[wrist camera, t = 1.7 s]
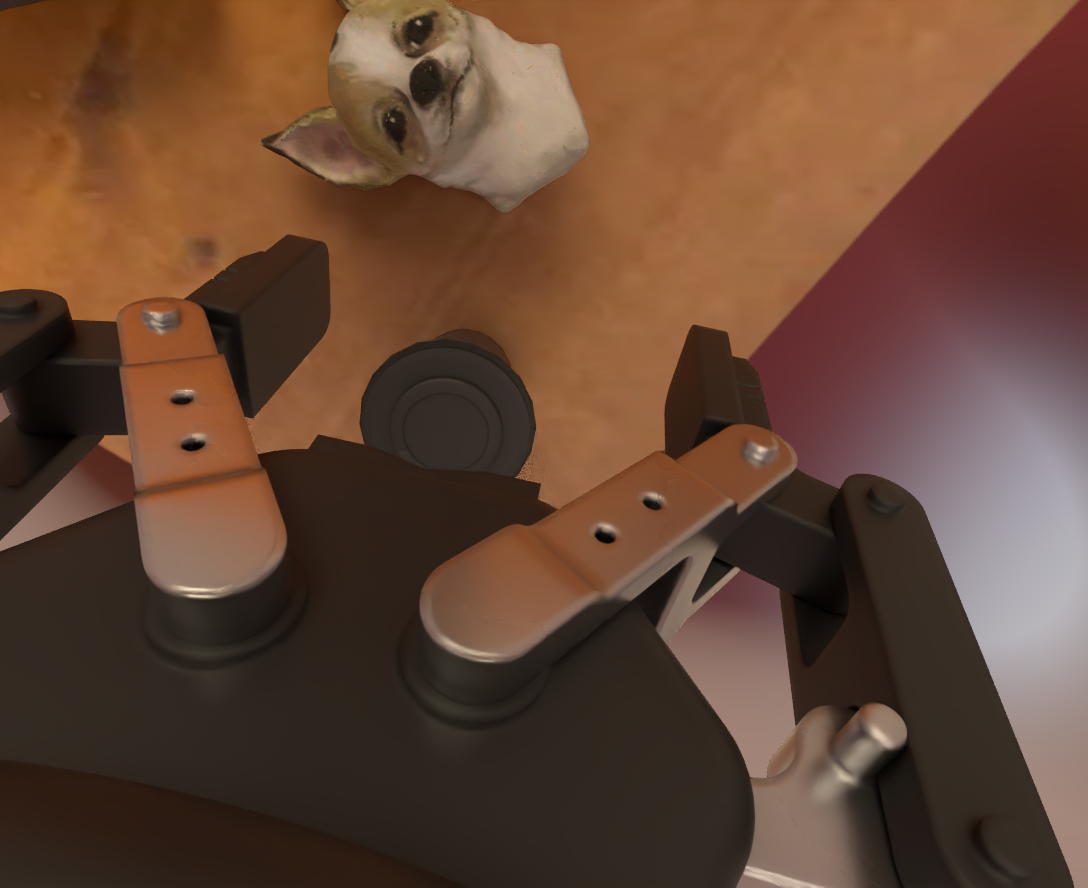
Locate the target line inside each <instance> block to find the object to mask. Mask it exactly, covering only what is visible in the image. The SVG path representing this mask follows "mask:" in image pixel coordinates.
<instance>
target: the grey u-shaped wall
mask: <svg viewBox="0 0 1088 888" xmlns="http://www.w3.org/2000/svg"><path fill="white" fill-rule="evenodd" d="M38 1H42V0H0V10H2V9H7V8H11V7H16V6H20V5H25V4H29V3H33V2H38Z"/></svg>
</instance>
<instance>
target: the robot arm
mask: <svg viewBox="0 0 1088 888" xmlns="http://www.w3.org/2000/svg"><path fill="white" fill-rule="evenodd" d="M329 320H330V279H329V254H328V249H327V246H326V244H325V243H324V242H321V241H317V240H312V239H308V238H303V237H299V236H294V235H290V234H289V235H286V236H285V237H283V238H282V239H281V240H280V241H278V242H277V243H276V244H274V245H273V246H272V247H271V248H269V249H268V250H267V251H265V252H263V251H260V252H257V253H254V254H251V255H248V256H244V257H241V258H239V259H238V260H236V261H235V262H234V263H232V264H231V265H229V266H228V267H227V268H226V270H225V271H221V272H220V273H219V274H217V275H216V276H215V277H214V279H211V280H209V281H208V282H207V283H205V284H204V285H203V286H201V287H200V288H198V289H197V290H196V291H194V292H193V293H192V294H190V295H189V296H188V297H186V298H185V299H179V298H167V297H163V298H150V299H145V300H141V301H137V302H134V303H132V304H129V305H127V306H125V307H124V308H123V309H121V310H120V311H119V313H118V314H117V318H116V321H117V322H109V321H85V320H72V318H71V314H70V311H69V308H68V305H67V302H66V300H65V299H64V298H63V297H62V296H60V295H58V294H55V293H53V292H49V291H44V290H34V289H19V290H9V291H3V292H0V393H1V392H2V394H3V397H4V400H5V402H6V404H7V407H8V409H9V412H10V414H11V415H9V416H8V417H7V418H6V419H4V420H3V421H2V422H1V423H0V540H1V539H2V538H3V537H4V536H5V535H6V534H7V533H8V532H9V531H10V530H11V529H12V528H13V527H14V526H15V525H16V524H17V523H18V522H19V521H20V520H21V519H22V518H23V517H24V516H26V515H27V513H29V512H30V510H31V509H33V507H35V506H36V504H38V503H39V502H40V500H42V499H43V498H44V497H45V496H46V495H47V494H48V492H50V491H51V490H52V489H53V488H54V487H55V486H56V485H57V484H58V483H59V482H60V481H61V480H62V479H63V478H64V477H65V476H66V475H67V474H68V473H69V472H70V471H71V470H72V469H73V468H74V467H75V466H76V465H77V464H78V463H79V462H80V461H81V460H82V459H83V458H84V457H85V456H86V455H87V454H88V453H89V452H90V451H91V450H92V449H93V448H94V447H95V446H96V445H97V444H98V443H99V442H100V441H101V440H102V439H103V437H104V435H128V437H129V444H130V451H131V458H132V466H133V473H134V480H135V488H136V492H135V493H134V501H131V502H129V503H126V504H123V505H121V506H118V507H116V508H113V509H110V510H108V511H105V512H102V513H100V514H97V515H95V516H92V517H89V518H87V519H84V520H81V521H79V522H76V523H74V524H71V525H68V526H66V527H63V528H60V529H58V530H55V531H53V532H50V533H47V534H45V535H42V536H39V537H37V538H34V539H32V540H29V541H26V542H24V543H21V544H19V545H16V546H13V547H11V548H8V549H6V550H3V551H0V888H1074V885H1073V881H1072V877H1071V875H1070V871H1069V869H1068V866H1067V864H1066V861H1065V859H1064V856H1063V854H1062V851H1061V849H1060V846H1059V844H1058V841H1057V839H1056V836H1055V834H1054V831H1053V829H1052V826H1051V824H1050V821H1049V819H1048V816H1047V814H1046V811H1045V809H1044V806H1043V804H1042V801H1041V799H1040V797H1039V794H1038V792H1037V789H1036V787H1035V784H1034V782H1033V779H1032V777H1031V774H1030V772H1029V769H1028V767H1027V764H1026V762H1025V759H1024V757H1023V754H1022V752H1021V750H1020V747H1019V744H1018V742H1017V739H1016V737H1015V734H1014V732H1013V729H1012V727H1011V724H1010V722H1009V719H1008V717H1007V715H1006V712H1005V710H1004V707H1003V704H1002V702H1001V700H1000V697H999V695H998V692H997V690H996V687H995V685H994V682H993V680H992V677H991V675H990V672H989V670H988V667H987V665H986V662H985V660H984V657H983V655H982V652H981V650H980V647H979V645H978V642H977V640H976V638H975V635H974V632H973V630H972V627H971V625H970V623H969V621H968V617H967V615H966V612H965V610H964V608H963V605H962V603H961V600H960V598H959V595H958V593H957V590H956V588H955V585H954V583H953V580H952V578H951V575H950V573H949V570H948V568H947V565H946V563H945V560H944V558H943V555H942V553H941V550H940V548H939V545H938V543H937V540H936V538H935V535H934V533H933V531H932V528H931V525H930V523H929V520H928V518H927V515H926V513H925V511H924V509H923V507H922V506H921V504H920V503H919V501H917V499H916V498H915V497H914V496H913V495H911V494H910V493H909V492H908V491H906V490H905V489H904V488H902V487H901V486H899V485H897V484H895V483H893V482H891V481H889V480H887V479H884V478H881V477H878V476H875V475H870V474H855V475H851V476H849V477H848V478H846V480H845V481H844V483H843V484H842V486H841V488H840V489H838V488H835V487H833V486H831V485H829V484H826V483H824V482H822V481H819V480H817V479H815V478H813V477H810V476H808V475H806V474H805V473H803V472H801V471H799V470H798V469H796V468H795V467H796V465H797V461H798V459H797V455H796V453H795V451H794V449H793V448H792V446H791V445H790V444H789V443H788V442H786V441H785V440H784V439H783V438H782V437H780V436H778V435H777V434H775V433H773V432H772V428H771V425H770V420H769V416H768V412H767V408H766V404H765V402H764V395H763V391H762V390H761V383H760V379H759V375H758V373H757V372H756V371H755V369H754V368H753V367H752V366H751V365H750V364H749V362H748V361H747V360H746V359H743V358H739V357H734V356H732V353H731V347H730V342H729V337H728V333H727V332H725V331H721V330H716V329H712V328H707V327H703V326H698V325H692V327H691V328H690V330H689V333H688V335H687V338H686V341H685V344H684V347H683V349H682V352H681V355H680V358H679V361H678V364H677V367H676V369H675V372H674V375H673V378H672V381H671V384H670V387H669V390H668V394H667V398H666V404H665V452H663V451H656V452H654V453H652V454H650V455H649V456H647V457H645V458H644V459H642V460H640V461H639V462H637V463H635V464H634V465H632V466H630V467H629V468H627V469H625V470H624V471H622V472H620V473H619V474H617V475H615V476H614V477H612V478H610V479H609V480H607V481H605V482H604V483H602V484H600V485H599V486H597V487H595V488H594V489H592V490H590V491H589V492H587V493H585V494H584V495H582V496H580V497H579V498H577V499H575V500H574V501H572V502H570V503H569V504H567V505H565V506H564V507H562V508H560V509H559V510H558V509H556V508H554V507H552V506H550V505H549V504H547V503H545V502H542V501H540V500H538V495H539V490H540V486H541V484H540V483H535V482H530V481H526V480H521V479H517V478H512V477H508V476H503V475H499V474H494V473H490V472H482V471H460V470H438V469H426V468H422V467H420V466H417V465H415V464H412V463H410V462H408V461H405V460H403V459H401V458H398V457H396V456H394V455H391V454H389V453H387V452H384V451H382V450H380V449H377V448H375V447H372V446H368V445H363V444H359V443H354V442H350V441H345V440H341V439H336V438H332V437H327V436H323V435H318V436H317V437H316V438H315V440H314V441H313V443H312V444H311V446H310V447H309V449H288V450H279V451H272V452H267V453H262V454H258V455H257V452H256V449H255V446H254V443H253V440H252V437H251V434H250V432H249V429H248V426H247V423H246V420H245V417H248V418H254V417H255V415H256V414H257V413H258V412H259V411H260V410H261V408H262V407H263V406H264V405H265V404H266V403H267V401H268V400H269V399H270V398H271V397H272V396H273V394H274V393H275V392H276V391H277V390H278V389H279V387H280V386H281V385H282V384H283V383H284V382H285V380H286V379H287V378H288V377H289V376H290V375H291V373H292V372H293V371H294V370H295V369H296V368H297V366H298V365H299V364H300V363H301V362H302V361H303V359H304V358H305V357H306V356H307V355H308V354H309V352H310V351H311V350H312V349H313V348H314V347H315V345H316V344H317V343H318V342H319V341H320V340H321V339H322V337H323V336H324V334H325V333H326V330H327V328H328V324H329ZM740 569H741V570H743V571H745V572H747V573H749V574H752V575H753V576H756V577H758V578H760V579H762V580H764V581H766V582H768V583H770V584H772V585H774V586H776V587H778V588H780V600H781V609H782V617H783V625H784V634H785V642H786V650H787V658H788V666H789V675H790V683H791V692H792V699H793V708H794V717H795V725H796V727H795V728H794V730H793V731H792V732H791V734H790V735H789V736H788V737H787V739H786V740H785V741H784V742H783V743H782V745H781V746H780V747H779V748H778V750H777V751H776V752H775V753H774V755H773V756H772V758H771V760H770V761H769V765H768V770H767V778H752V777H750V776H749V773H748V770H747V767H746V764H745V761H744V759H743V756H742V754H741V752H740V750H739V748H738V746H737V744H736V742H735V740H734V738H733V737H732V735H731V734H730V732H729V731H728V729H727V728H726V726H725V725H724V723H723V722H722V721H721V719H720V718H719V716H718V715H717V714H716V712H715V711H714V709H713V708H712V707H711V705H710V704H709V703H708V701H707V700H706V698H705V697H704V696H703V694H702V693H701V691H700V690H699V689H698V687H697V686H696V685H695V683H694V682H693V680H692V679H691V678H690V676H689V675H688V673H687V672H686V671H685V669H684V668H683V666H682V665H681V664H680V662H679V661H678V660H677V658H676V657H675V655H674V654H673V653H672V651H671V650H670V649H669V647H668V646H667V645H668V644H669V642H670V641H671V639H672V638H673V637H674V635H675V634H676V632H677V631H678V629H679V628H680V627H681V626H682V624H683V623H684V622H685V621H686V620H687V619H688V618H689V617H690V616H691V615H692V614H693V613H694V612H695V611H697V610H698V609H699V608H700V607H701V606H702V605H703V604H704V603H705V602H706V601H707V600H709V599H710V598H711V597H712V596H713V595H714V594H715V593H716V592H717V591H718V590H719V589H720V588H722V587H723V586H724V585H725V584H726V583H727V582H728V581H729V580H730V579H731V578H732V577H733V576H735V575H736V574H737V573H738V572H739V570H740Z"/></svg>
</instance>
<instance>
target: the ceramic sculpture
mask: <svg viewBox="0 0 1088 888" xmlns="http://www.w3.org/2000/svg"><path fill="white" fill-rule="evenodd" d="M336 1H337V2H338V4H339V5H340V6H341V7H342V8H343V9H344V10H345V11H347V12H348V13H347V14H346V16H345V17H344V19H343V21H342V23H341V24H340V26H339V28H338V30H337V32H336V33H335V37H334V40H333V44H332V47H331V50H330V57H329V64H328V85H329V96H330V98H331V101H332V103H333V105H334V107H331V106H329V107H317V108H314V109H312V110H310V111H309V112H307V113H306V114H304V115H303V116H302V117H300V118H299V119H297V120H296V121H294V122H293V123H292V124H290V125H289V126H288V127H287V128H285V129H284V130H283V131H280V132H278V133H275V134H272V135H269V136H267V137H264V138H262V139H261V141H260V144H261V145H262V146H264V147H265V148H267V149H269V150H271V151H273V152H275V153H277V154H279V155H281V156H283V157H285V158H288V159H289V160H290V161H292V162H293V163H294V164H296V165H297V166H299V167H301V168H303V169H305V170H306V171H308V172H310V173H312V174H314V175H316V176H317V177H319V178H322V179H325V180H326V181H328V182H330V183H332V184H333V185H335V186H336V187H350V188H355V189H360V190H363V191H370V190H374V189H378V188H382V187H386V186H389V185H391V184H393V183H395V182H396V181H397V180H399V179H400V178H402V177H404V176H406V175H408V174H410V175H417V176H420V177H422V178H424V179H426V180H428V181H430V182H432V183H434V184H436V185H438V186H440V187H443V188H449V187H453V188H456V189H461V190H468V191H471V192H474V193H476V194H478V195H481V196H482V197H483V198H484V199H485V200H486V201H487V202H489V203H490V204H491V205H493V207H494V208H495V209H496V210H498V211H500V212H502V213H508V212H510V211H511V210H512V209H514V208H515V207H517V206H519V205H520V204H521V203H522V202H523V201H524V200H525V199H526V198H527V197H529V196H530V195H531V194H533V193H535V192H536V191H538V190H540V189H541V188H543V187H544V186H546V185H548V184H549V183H551V182H553V181H554V180H556V179H558V178H559V177H561V176H563V175H565V174H566V173H567V172H568V171H569V170H570V169H572V168H573V167H574V165H575V164H576V163H577V162H578V161H579V160H581V159H582V158H583V157H584V156H585V154H586V152H587V150H588V147H589V142H590V140H589V137H588V134H587V130H586V124H585V119H584V115H583V113H582V110H581V108H580V106H579V104H578V102H577V100H576V98H575V95H574V92H573V89H572V86H571V83H570V80H569V78H568V74H567V71H566V68H565V65H564V62H563V59H562V55H561V50H560V47H558V46H557V45H555V44H551V43H547V44H528V43H526V42H521V41H516V40H514V39H512V38H511V37H510V36H509V35H508V34H507V33H505V32H504V31H502V30H501V29H499V28H497V27H496V26H495V25H494V24H493V22H492V21H490V20H489V19H488V18H484V17H481V16H478V15H475V14H472V13H470V12H468V11H466V10H464V9H461V8H458V7H456V6H454V5H453V4H451V3H450V2H449V1H448V0H336Z"/></svg>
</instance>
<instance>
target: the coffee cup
mask: <svg viewBox="0 0 1088 888" xmlns="http://www.w3.org/2000/svg"><path fill="white" fill-rule="evenodd" d="M360 428H361V432H362V436H363V441H364V444H365V445H368V446H372V447H375V448H377V449H380V450H382V451H384V452H387V453H389V454H391V455H394V456H396V457H398V458H401V459H403V460H405V461H408V462H410V463H412V464H415V465H417V466H420V467H422V468H426V469H438V470H460V471H482V472H490V473H494V474H499V475H503V476H508V477H512V478H515V477H516V476H517V475H518V474H519V473H520V471H521V469H522V467H523V466H524V464H525V462H526V460H527V459H528V457H529V455H530V454H531V451H532V446H533V441H534V436H535V430H536V423H535V416H534V409H533V402H532V400H531V398H530V396H529V394H528V392H527V390H526V388H525V386H524V384H523V382H522V380H521V378H520V377H519V376H518V375H517V374H516V373H515V372H514V371H513V370H512V369H511V366H510V364H509V361H508V359H507V357H506V355H505V353H504V351H503V349H502V348H501V347H500V346H499V345H498V344H497V343H496V342H495V341H494V340H493V339H492V338H490V337H488V336H487V335H485V334H483V333H481V332H479V331H473V330H468V329H460V330H453V331H449V332H447V333H445V334H443V335H441V336H439V337H437V338H435V339H434V340H432V341H425V342H418V343H415V344H413V345H411V346H409V347H407V348H405V349H403V350H401V351H399V352H397V353H395V354H393V355H391V356H390V357H389V358H388V359H387V360H386V361H385V362H384V363H383V364H382V365H381V366H380V368H379V369H378V370H377V371H376V372H375V373H374V374H373V375H372V377H371V379H370V382H369V384H368V386H367V388H366V390H365V392H364V395H363V397H362V402H361V414H360Z"/></svg>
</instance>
